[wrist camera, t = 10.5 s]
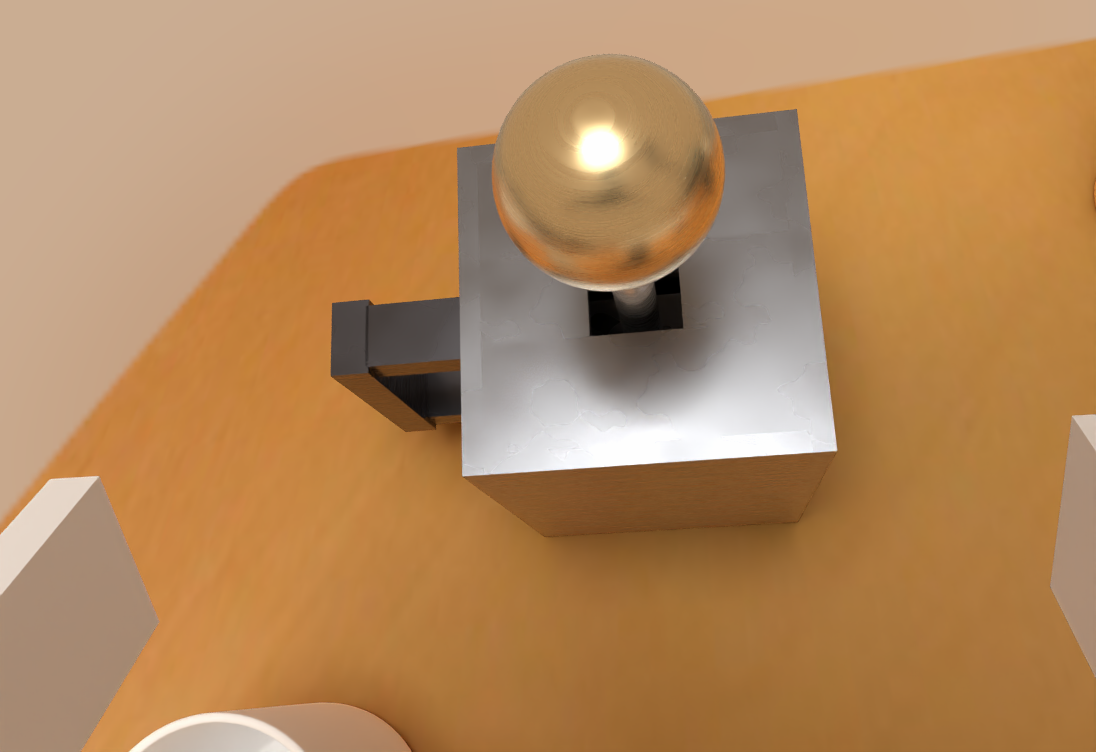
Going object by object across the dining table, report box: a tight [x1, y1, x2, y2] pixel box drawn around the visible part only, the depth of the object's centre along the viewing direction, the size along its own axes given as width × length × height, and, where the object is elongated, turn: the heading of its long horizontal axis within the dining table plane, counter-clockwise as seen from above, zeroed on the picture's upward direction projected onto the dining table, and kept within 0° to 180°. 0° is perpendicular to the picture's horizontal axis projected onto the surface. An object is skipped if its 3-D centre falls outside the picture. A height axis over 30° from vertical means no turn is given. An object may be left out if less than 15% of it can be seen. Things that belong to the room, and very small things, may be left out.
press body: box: [331, 109, 837, 537], centre depth 36 cm, size 15×10×14 cm
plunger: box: [492, 54, 725, 336], centre depth 30 cm, size 8×8×22 cm
